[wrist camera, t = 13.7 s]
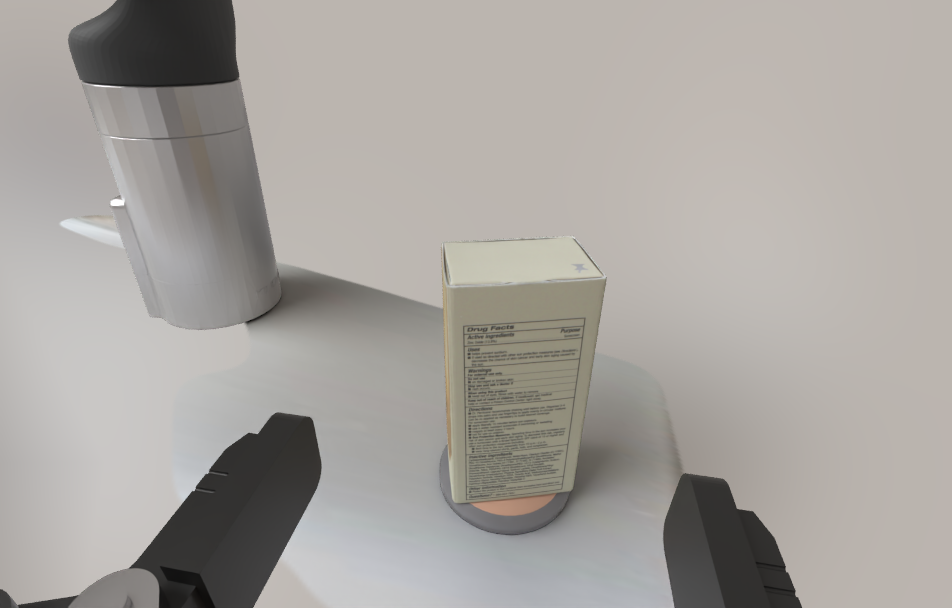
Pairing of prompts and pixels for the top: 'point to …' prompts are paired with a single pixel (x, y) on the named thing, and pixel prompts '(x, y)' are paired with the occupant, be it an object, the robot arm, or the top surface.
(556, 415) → the skincare box
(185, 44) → the robot arm
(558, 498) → the tile
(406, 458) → the top surface
